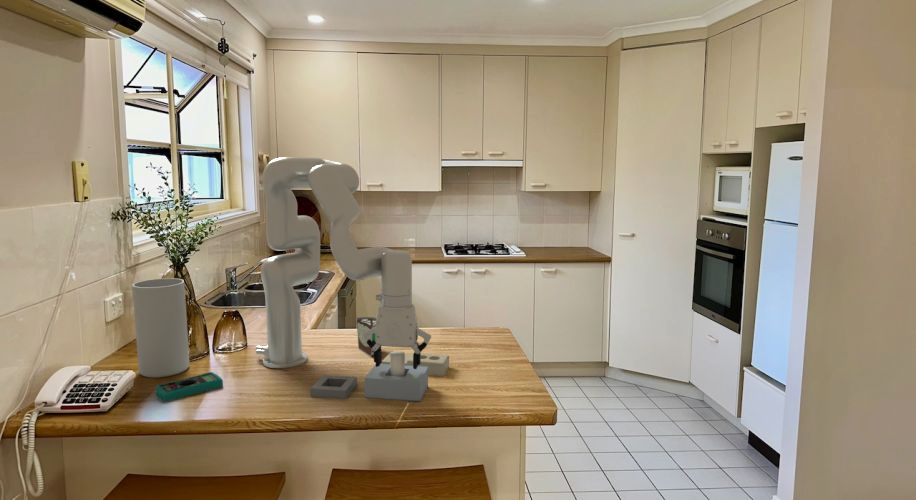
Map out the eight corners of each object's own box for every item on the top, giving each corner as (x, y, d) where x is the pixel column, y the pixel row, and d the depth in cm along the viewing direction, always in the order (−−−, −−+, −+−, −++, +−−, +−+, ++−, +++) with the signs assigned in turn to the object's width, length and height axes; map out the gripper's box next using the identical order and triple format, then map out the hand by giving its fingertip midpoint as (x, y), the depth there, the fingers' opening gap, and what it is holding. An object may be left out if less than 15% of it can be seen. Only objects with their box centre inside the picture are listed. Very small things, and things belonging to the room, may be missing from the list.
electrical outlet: (389, 350, 162) (449, 354, 159) (389, 363, 163) (449, 368, 159) (381, 358, 155) (444, 363, 152) (381, 372, 156) (444, 377, 152)
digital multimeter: (153, 395, 139) (152, 384, 138) (214, 380, 149) (213, 370, 149) (162, 405, 134) (161, 393, 133) (224, 388, 144) (223, 377, 143)
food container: (391, 355, 169) (391, 323, 167) (373, 358, 165) (373, 326, 164) (374, 344, 179) (373, 314, 177) (356, 347, 176) (355, 317, 174)
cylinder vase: (166, 380, 147) (159, 289, 143) (128, 375, 150) (120, 285, 147) (199, 365, 159) (194, 279, 155) (163, 360, 162) (157, 277, 159)
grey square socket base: (310, 397, 137) (310, 388, 137) (324, 384, 146) (323, 375, 146) (345, 400, 136) (345, 390, 136) (356, 386, 145) (356, 377, 144)
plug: (389, 393, 139) (388, 355, 138) (392, 387, 143) (392, 350, 141) (402, 394, 139) (402, 355, 137) (406, 388, 142) (406, 351, 141)
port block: (364, 399, 137) (364, 376, 136) (376, 383, 147) (376, 362, 146) (420, 402, 135) (420, 379, 134) (428, 386, 145) (428, 365, 144)
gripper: (358, 302, 135) (359, 369, 137) (428, 305, 132) (428, 373, 135) (367, 295, 142) (368, 359, 145) (433, 298, 140) (433, 362, 142)
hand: (397, 366), depth 140 cm, fingers open, 9 cm apart
